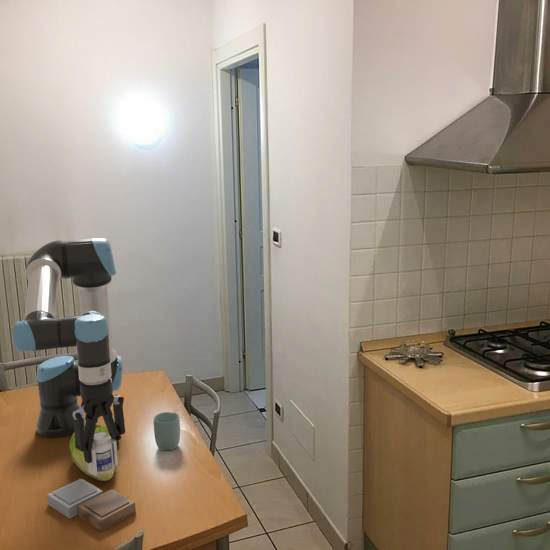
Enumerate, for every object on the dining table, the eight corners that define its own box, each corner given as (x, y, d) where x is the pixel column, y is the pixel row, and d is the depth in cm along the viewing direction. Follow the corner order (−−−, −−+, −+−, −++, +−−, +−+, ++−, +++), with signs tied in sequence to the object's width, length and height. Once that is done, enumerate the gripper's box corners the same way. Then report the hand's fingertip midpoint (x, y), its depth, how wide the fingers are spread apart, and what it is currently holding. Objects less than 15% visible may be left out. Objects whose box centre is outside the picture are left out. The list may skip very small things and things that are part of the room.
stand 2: (78, 516, 158) (77, 504, 157) (112, 499, 165) (111, 488, 165) (101, 531, 152) (100, 519, 151) (135, 513, 159) (134, 501, 158)
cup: (175, 454, 189) (174, 423, 187) (151, 452, 190) (149, 421, 188) (184, 442, 196) (182, 412, 194) (161, 440, 198) (159, 411, 196)
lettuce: (74, 479, 166) (111, 445, 169) (58, 437, 187) (91, 407, 190) (103, 504, 172) (139, 470, 174) (85, 461, 193) (116, 431, 195)
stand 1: (48, 504, 164) (47, 493, 163) (82, 488, 171) (81, 477, 170) (69, 518, 157) (68, 506, 157) (103, 501, 165) (102, 489, 164)
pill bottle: (94, 464, 158) (91, 431, 157) (115, 462, 159) (112, 430, 157) (89, 474, 153) (86, 441, 151) (111, 473, 154) (109, 440, 152)
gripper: (70, 395, 142) (79, 488, 147) (136, 372, 156) (142, 458, 160) (52, 387, 147) (61, 478, 152) (118, 365, 160) (125, 449, 165)
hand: (103, 468), depth 156 cm, fingers closed on pill bottle, 5 cm apart
